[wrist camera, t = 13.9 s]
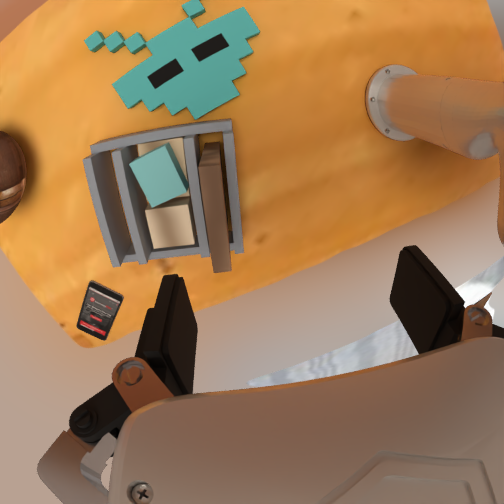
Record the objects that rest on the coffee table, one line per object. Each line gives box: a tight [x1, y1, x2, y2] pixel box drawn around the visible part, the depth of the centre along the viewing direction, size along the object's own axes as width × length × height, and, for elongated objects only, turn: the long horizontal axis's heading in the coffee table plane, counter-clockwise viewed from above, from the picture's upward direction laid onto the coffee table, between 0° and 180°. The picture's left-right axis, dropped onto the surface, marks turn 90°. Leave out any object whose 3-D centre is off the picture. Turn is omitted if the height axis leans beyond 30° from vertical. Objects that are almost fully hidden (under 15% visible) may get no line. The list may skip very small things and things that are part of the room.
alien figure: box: [84, 0, 260, 120], centre depth 30 cm, size 20×2×20 cm
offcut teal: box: [129, 142, 189, 208], centre depth 35 cm, size 5×6×3 cm
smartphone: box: [77, 281, 124, 340], centre depth 51 cm, size 7×1×15 cm
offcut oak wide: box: [137, 136, 190, 201], centre depth 37 cm, size 6×8×4 cm
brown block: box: [198, 142, 232, 273], centre depth 35 cm, size 2×12×14 cm, turn 4°
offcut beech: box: [145, 193, 196, 249], centre depth 41 cm, size 6×6×5 cm
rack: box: [83, 119, 244, 267], centre depth 38 cm, size 19×18×7 cm
